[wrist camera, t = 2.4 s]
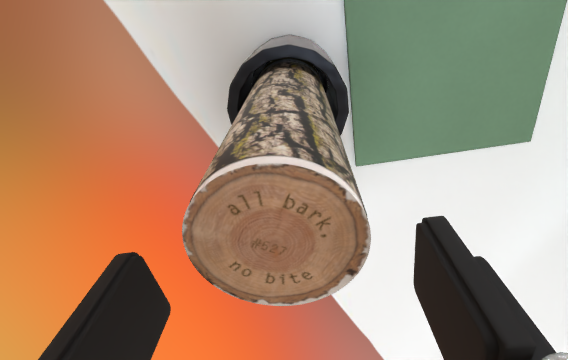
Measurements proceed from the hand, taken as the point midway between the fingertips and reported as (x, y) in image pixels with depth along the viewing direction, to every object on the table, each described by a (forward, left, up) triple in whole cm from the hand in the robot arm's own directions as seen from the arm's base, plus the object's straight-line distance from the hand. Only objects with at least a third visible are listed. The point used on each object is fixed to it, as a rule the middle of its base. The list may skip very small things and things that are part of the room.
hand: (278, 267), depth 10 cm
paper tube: (0, 0, -26) cm, 26 cm away
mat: (+1, +16, -26) cm, 31 cm away
